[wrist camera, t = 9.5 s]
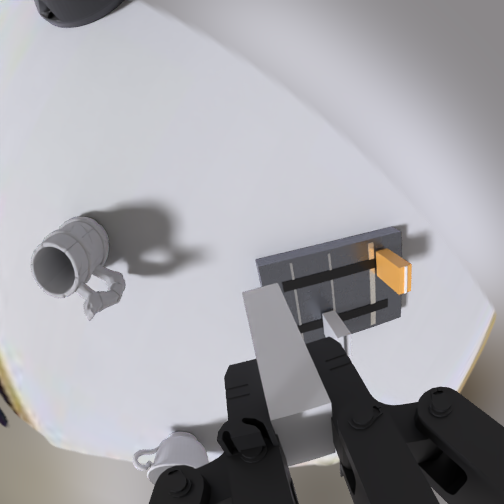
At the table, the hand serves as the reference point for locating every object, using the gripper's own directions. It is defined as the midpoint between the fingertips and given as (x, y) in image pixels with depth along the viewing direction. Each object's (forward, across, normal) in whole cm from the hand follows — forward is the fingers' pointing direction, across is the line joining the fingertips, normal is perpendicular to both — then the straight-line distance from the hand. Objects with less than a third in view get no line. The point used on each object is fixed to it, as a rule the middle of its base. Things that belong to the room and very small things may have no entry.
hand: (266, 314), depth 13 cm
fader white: (+23, +9, -19) cm, 31 cm away
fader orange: (+23, +17, -13) cm, 31 cm away
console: (+25, +11, -16) cm, 32 cm away
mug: (+26, -19, -2) cm, 32 cm away
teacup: (+25, -22, -40) cm, 52 cm away
